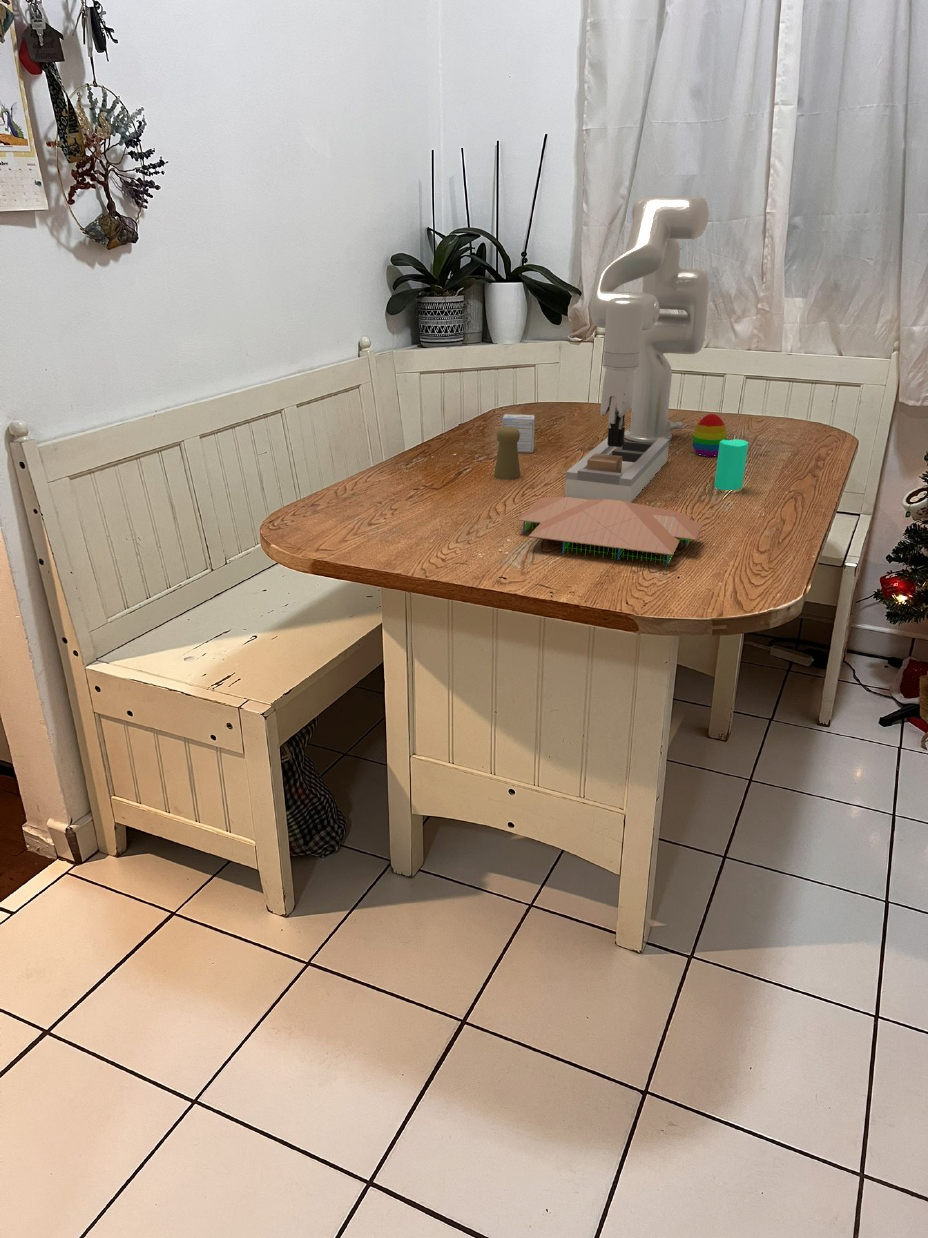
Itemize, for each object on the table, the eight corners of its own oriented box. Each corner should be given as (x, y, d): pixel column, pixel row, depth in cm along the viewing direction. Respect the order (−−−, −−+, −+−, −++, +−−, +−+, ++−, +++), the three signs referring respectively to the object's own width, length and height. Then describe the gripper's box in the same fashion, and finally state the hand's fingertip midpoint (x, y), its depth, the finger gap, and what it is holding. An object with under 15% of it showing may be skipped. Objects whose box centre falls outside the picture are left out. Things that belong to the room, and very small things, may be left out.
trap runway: (610, 455, 229) (612, 431, 226) (667, 461, 224) (669, 436, 221) (564, 496, 197) (566, 469, 194) (629, 505, 192) (631, 476, 189)
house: (687, 574, 158) (692, 529, 155) (504, 550, 169) (505, 507, 165) (704, 533, 178) (709, 492, 174) (539, 513, 188) (541, 474, 185)
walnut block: (594, 471, 201) (595, 453, 199) (621, 474, 198) (622, 456, 197) (586, 478, 196) (587, 459, 194) (614, 481, 193) (615, 462, 192)
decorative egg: (713, 449, 235) (717, 409, 231) (731, 456, 228) (736, 416, 224) (684, 451, 233) (689, 411, 229) (702, 459, 226) (707, 418, 222)
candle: (744, 487, 204) (751, 433, 199) (739, 494, 199) (746, 439, 194) (716, 483, 207) (723, 430, 202) (711, 490, 202) (718, 436, 197)
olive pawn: (523, 473, 213) (525, 425, 209) (516, 480, 208) (517, 431, 204) (498, 470, 215) (499, 423, 211) (490, 477, 210) (491, 429, 205)
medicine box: (533, 448, 234) (535, 414, 231) (533, 453, 230) (534, 418, 227) (502, 447, 235) (503, 413, 231) (501, 452, 231) (502, 417, 227)
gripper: (613, 352, 201) (607, 435, 209) (594, 364, 189) (589, 452, 197) (647, 354, 199) (640, 438, 207) (630, 367, 186) (623, 456, 194)
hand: (615, 445), depth 202 cm, fingers closed
